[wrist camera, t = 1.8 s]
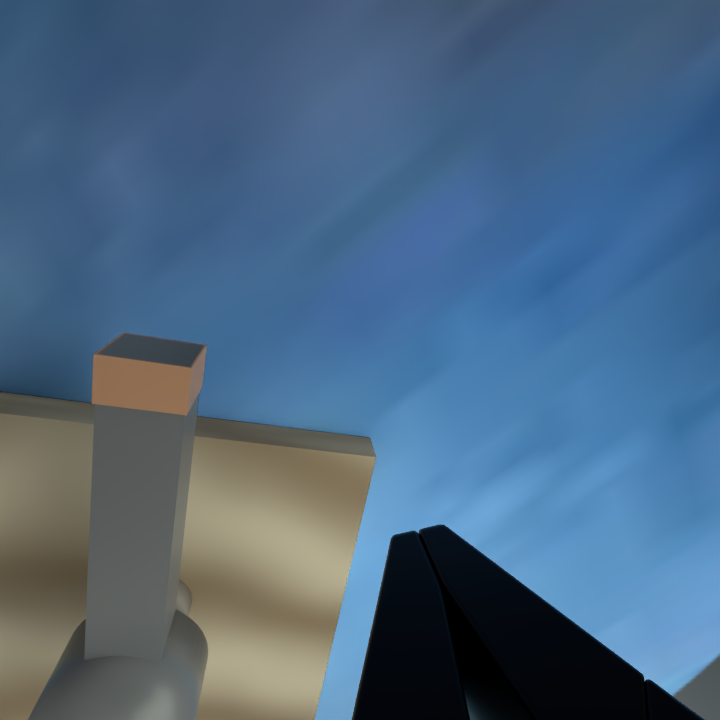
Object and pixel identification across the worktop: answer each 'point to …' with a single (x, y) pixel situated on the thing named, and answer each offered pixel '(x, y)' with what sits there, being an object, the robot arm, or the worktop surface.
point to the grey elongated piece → (136, 543)
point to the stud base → (187, 553)
